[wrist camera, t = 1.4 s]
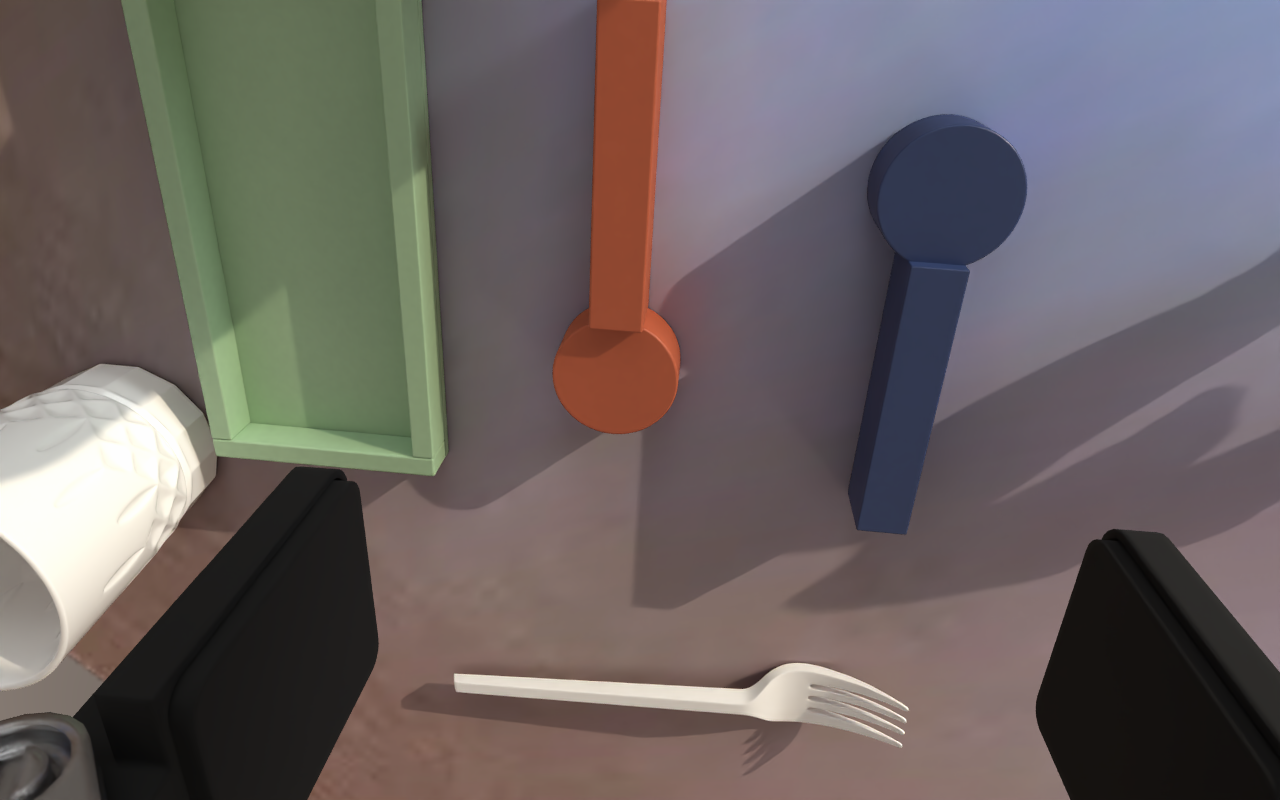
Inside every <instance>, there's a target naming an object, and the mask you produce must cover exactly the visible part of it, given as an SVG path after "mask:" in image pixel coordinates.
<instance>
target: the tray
mask: <svg viewBox="0 0 1280 800" xmlns="http://www.w3.org/2000/svg"><path fill="white" fill-rule="evenodd" d="M121 3H122V8H123V12H124V17H125V22H126V27H127V32H128V36H129V41H130V46H131V51H132V56H133V60H134V65H135V70H136V75H137V80H138V84H139V89H140V94H141V99H142V104H143V109H144V113H145V118H146V123H147V128H148V133H149V137H150V142H151V147H152V152H153V157H154V161H155V166H156V171H157V176H158V181H159V185H160V190H161V195H162V200H163V205H164V209H165V214H166V219H167V224H168V229H169V233H170V238H171V243H172V248H173V253H174V257H175V262H176V267H177V272H178V277H179V281H180V286H181V291H182V296H183V301H184V306H185V310H186V315H187V320H188V325H189V330H190V334H191V339H192V344H193V349H194V354H195V358H196V363H197V368H198V373H199V378H200V382H201V387H202V392H203V397H204V402H205V406H206V411H207V416H208V421H209V426H210V430H211V435H212V438H213V444H214V448H215V453H216V456H221V457H232V458H243V459H253V460H264V461H275V462H286V463H296V464H307V465H318V466H328V467H339V468H350V469H361V470H371V471H382V472H393V473H404V474H414V475H425V476H434V475H435V474H436V472H437V470H438V469H439V467H440V465H441V463H442V462H443V460H444V458H445V456H447V454H448V452H449V449H448V432H447V416H446V399H445V383H444V366H443V349H442V333H441V316H440V300H439V283H438V267H437V250H436V234H435V217H434V201H433V184H432V168H431V151H430V135H429V118H428V102H427V85H426V69H425V52H424V35H423V19H422V2H421V0H121Z"/></svg>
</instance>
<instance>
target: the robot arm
mask: <svg viewBox="0 0 1280 800" xmlns="http://www.w3.org/2000/svg"><path fill="white" fill-rule="evenodd" d="M378 644H379V643H378V632H377V624H376V616H375V608H374V600H373V592H372V584H371V576H370V568H369V560H368V552H367V544H366V537H365V529H364V521H363V513H362V505H361V497H360V491H359V487H358V485H357V483H355V482H352V481H347V478H346V476H345V474H344V472H343V471H341V470H339V469H326V468H313V467H295V468H294V469H293V470H292V471H290V473H289V474H288V475H287V476H286V477H285V478H284V479H283V481H282V482H281V483H280V484H279V485H278V486H277V487H276V488H275V490H274V491H273V492H272V493H271V494H270V495H269V496H268V497H267V499H266V500H265V501H264V502H263V503H262V504H261V505H260V507H259V508H258V509H257V510H256V511H255V512H254V513H253V514H252V516H251V517H250V518H249V519H248V520H247V521H246V522H245V524H244V525H243V526H242V527H241V528H240V529H239V530H238V531H237V533H236V534H235V535H234V536H233V537H232V538H231V539H230V541H229V542H228V543H227V544H226V545H225V546H224V547H223V548H222V550H221V551H220V552H219V553H218V554H217V555H216V556H215V558H214V559H213V560H212V561H211V562H210V563H209V564H208V565H207V567H206V568H205V569H204V570H203V571H202V572H201V573H200V574H199V575H198V576H197V577H196V578H195V580H194V581H193V582H192V583H191V584H190V585H189V586H188V587H187V589H186V590H185V591H184V592H183V593H182V594H181V595H180V597H179V598H178V599H177V600H176V601H175V602H174V603H173V604H172V606H171V607H170V608H169V609H168V610H167V611H166V612H165V613H164V615H163V616H162V617H161V618H160V619H159V620H158V621H157V623H156V624H155V625H154V626H153V627H152V628H151V629H150V630H149V632H148V633H147V634H146V635H145V636H144V637H143V638H142V639H141V641H140V642H139V643H138V644H137V645H136V646H135V647H134V649H133V650H132V651H131V652H130V653H129V654H128V655H127V656H126V658H125V659H124V660H123V661H122V662H121V663H120V664H119V666H118V667H117V668H116V669H115V670H114V671H113V672H112V673H111V675H110V676H109V677H108V678H107V679H106V680H105V681H104V682H103V684H102V685H101V686H100V687H99V688H98V689H97V690H96V692H95V693H94V694H93V695H92V696H91V697H90V698H89V699H88V701H87V702H86V703H85V704H84V705H83V706H82V707H81V709H80V710H79V711H78V712H77V713H76V714H75V715H74V716H73V717H71V716H68V715H62V714H57V713H51V712H47V713H34V714H24V715H20V716H17V717H13V718H9V719H6V720H2V721H0V800H307V799H308V797H309V795H310V793H311V791H312V789H313V787H314V785H315V783H316V781H317V779H318V777H319V775H320V773H321V771H322V769H323V767H324V765H325V763H326V761H327V759H328V757H329V755H330V753H331V751H332V749H333V747H334V745H335V743H336V741H337V739H338V737H339V735H340V733H341V731H342V729H343V727H344V726H345V724H346V722H347V720H348V718H349V716H350V714H351V712H352V710H353V708H354V706H355V704H356V702H357V700H358V698H359V696H360V694H361V692H362V690H363V688H364V686H365V684H366V682H367V680H368V678H369V676H370V674H371V672H372V670H373V668H374V665H375V662H376V658H377V653H378ZM1036 718H1037V723H1038V726H1039V729H1040V732H1041V734H1042V736H1043V738H1044V741H1045V743H1046V745H1047V747H1048V750H1049V752H1050V754H1051V757H1052V759H1053V761H1054V763H1055V766H1056V768H1057V770H1058V772H1059V775H1060V777H1061V779H1062V782H1063V784H1064V786H1065V788H1066V791H1067V793H1068V795H1069V797H1070V800H1280V672H1279V671H1278V670H1277V669H1276V667H1275V666H1274V665H1273V664H1272V662H1271V661H1270V660H1269V659H1268V658H1267V656H1266V655H1265V654H1264V653H1263V652H1262V650H1261V649H1260V648H1259V647H1258V646H1257V644H1256V643H1255V642H1254V641H1253V640H1252V638H1251V637H1250V636H1249V635H1248V634H1247V632H1246V631H1245V630H1244V629H1243V628H1242V626H1241V625H1240V624H1239V623H1238V622H1237V620H1236V619H1235V618H1234V617H1233V615H1232V614H1231V613H1230V612H1229V611H1228V609H1227V608H1226V607H1225V606H1224V605H1223V603H1222V602H1221V601H1220V600H1219V599H1218V597H1217V596H1216V595H1215V594H1214V593H1213V591H1212V590H1211V589H1210V588H1209V587H1208V585H1207V584H1206V583H1205V582H1204V581H1203V579H1202V578H1201V577H1200V576H1199V575H1198V573H1197V572H1196V571H1195V570H1194V568H1193V567H1192V566H1191V565H1190V564H1189V562H1188V561H1187V560H1186V559H1185V558H1184V556H1183V555H1182V554H1181V553H1180V552H1179V550H1178V549H1177V548H1176V547H1175V546H1174V544H1173V543H1172V542H1171V541H1170V540H1169V538H1167V537H1166V536H1165V535H1164V534H1161V533H1157V532H1145V531H1132V530H1119V529H1112V530H1109V531H1107V533H1106V534H1105V535H1104V536H1103V538H1102V540H1098V539H1096V540H1093V541H1092V542H1091V543H1090V544H1089V545H1088V547H1087V550H1086V552H1085V555H1084V558H1083V561H1082V564H1081V567H1080V570H1079V573H1078V576H1077V579H1076V582H1075V585H1074V588H1073V591H1072V594H1071V597H1070V600H1069V603H1068V606H1067V609H1066V612H1065V615H1064V618H1063V621H1062V624H1061V627H1060V630H1059V633H1058V636H1057V639H1056V642H1055V645H1054V648H1053V651H1052V654H1051V657H1050V660H1049V663H1048V666H1047V669H1046V672H1045V675H1044V678H1043V681H1042V684H1041V687H1040V690H1039V693H1038V696H1037V701H1036Z"/></svg>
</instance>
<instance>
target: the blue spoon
mask: <svg viewBox="0 0 1280 800" xmlns="http://www.w3.org/2000/svg"><path fill="white" fill-rule="evenodd" d="M1026 196H1027V178H1026V172H1025V168H1024V165H1023V163H1022V160H1021V158H1020V156H1019V154H1018V153H1017V151H1016V150H1015V148H1014V147H1013V146H1012V145H1011V144H1010V143H1009V142H1008V141H1007V140H1006V139H1005V138H1004V137H1002V136H1001V135H999V134H998V133H996V132H995V131H993V130H991V129H989V128H988V127H986V126H984V125H983V124H981V123H979V122H977V121H975V120H973V119H970V118H967V117H964V116H959V115H935V116H930V117H927V118H923V119H921V120H918V121H916V122H913V123H912V124H910V125H908V126H906V127H905V128H903V129H902V130H900V131H899V132H898V133H896V134H895V135H894V136H893V137H892V138H891V139H890V140H889V141H888V142H887V143H886V144H885V146H884V147H883V148H882V150H881V151H880V153H879V154H878V156H877V158H876V160H875V161H874V164H873V166H872V169H871V171H870V175H869V180H868V188H867V198H868V204H869V209H870V212H871V215H872V217H873V219H874V221H875V223H876V225H877V226H878V228H879V230H880V231H881V233H882V235H883V236H884V238H885V239H886V241H887V242H888V244H889V245H890V246H891V248H892V249H893V250H894V251H895V256H894V261H893V266H892V271H891V276H890V281H889V286H888V291H887V296H886V301H885V306H884V311H883V317H882V322H881V327H880V332H879V337H878V342H877V347H876V352H875V357H874V362H873V367H872V372H871V378H870V383H869V388H868V393H867V398H866V403H865V408H864V413H863V418H862V423H861V428H860V433H859V439H858V444H857V449H856V454H855V459H854V464H853V469H852V474H851V479H850V484H849V489H848V495H849V499H850V503H851V507H852V512H853V516H854V520H855V524H856V528H857V530H862V531H872V532H883V533H894V534H904V535H906V534H907V530H908V526H909V522H910V517H911V513H912V509H913V505H914V501H915V497H916V493H917V488H918V484H919V480H920V476H921V472H922V468H923V464H924V459H925V455H926V451H927V447H928V443H929V439H930V434H931V430H932V426H933V422H934V418H935V414H936V410H937V405H938V401H939V397H940V393H941V389H942V385H943V381H944V376H945V372H946V368H947V364H948V360H949V356H950V352H951V347H952V343H953V339H954V335H955V331H956V327H957V323H958V318H959V314H960V310H961V306H962V302H963V298H964V294H965V289H966V285H967V281H968V277H969V273H970V271H969V269H968V268H967V267H966V266H965V265H968V264H970V263H973V262H975V261H977V260H979V259H982V258H983V257H985V256H986V255H988V254H990V253H991V252H992V251H994V250H995V249H996V248H997V247H999V246H1000V245H1001V244H1002V243H1003V242H1004V241H1005V240H1006V238H1007V237H1008V236H1009V235H1010V234H1011V232H1012V231H1013V229H1014V228H1015V226H1016V224H1017V223H1018V221H1019V219H1020V216H1021V214H1022V211H1023V208H1024V205H1025V201H1026Z"/></svg>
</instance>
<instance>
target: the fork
mask: <svg viewBox="0 0 1280 800" xmlns="http://www.w3.org/2000/svg"><path fill="white" fill-rule="evenodd" d="M454 686H455V690H456V692H462V693H474V694H486V695H499V696H511V697H524V698H537V699H549V700H562V701H574V702H587V703H600V704H612V705H625V706H637V707H650V708H663V709H675V710H688V711H701V712H713V713H726V714H739V715H748V716H753V717H757V718H760V719H763V720H767V721H793V722H805V723H812V724H818V725H824V726H830V727H834V728H839V729H843V730H847V731H851V732H854V733H858V734H861V735H864V736H867V737H871V738H874V739H877V740H880V741H883V742H886V743H888V744H891V745H894V746H896V747H899V748H902V744H901V743H900V742H898V741H896V740H894V739H893V738H891V737H889V736H887V735H885V734H883V733H881V732H879V731H877V730H875V729H873V728H871V727H869V726H867V725H865V724H862V723H860V722H857V721H855V720H852V719H850V718H847V717H844V716H842V715H839V714H836V713H840V714H844V715H849V716H853V717H856V718H859V719H862V720H865V721H868V722H871V723H873V724H876V725H879V726H881V727H884V728H886V729H889V730H891V731H894V732H896V733H898V734H901V735H904V733H905V732H904V731H903V730H902V729H900V728H899V727H897V726H895V725H893V724H891V723H889V722H888V721H886V720H884V719H882V718H880V717H878V716H875V715H873V714H871V713H869V712H866V711H864V710H861V709H859V708H856V707H853V706H851V705H848V704H845V703H841V702H846V703H850V704H854V705H857V706H861V707H864V708H867V709H869V710H872V711H875V712H878V713H881V714H883V715H886V716H888V717H891V718H893V719H895V720H898V721H900V722H902V723H906V719H905V718H904V717H902V716H901V715H899V714H897V713H895V712H893V711H892V710H890V709H888V708H885V707H883V706H881V705H879V704H877V703H875V702H873V701H871V700H868V699H866V698H863V697H860V696H858V695H855V694H852V693H849V692H846V691H843V690H847V691H851V692H855V693H859V694H862V695H865V696H868V697H871V698H874V699H877V700H879V701H882V702H885V703H887V704H890V705H892V706H895V707H897V708H899V709H901V710H904V711H908V710H909V709H908V708H907V707H906V706H905V705H904V704H902V703H900V702H899V701H897V700H896V699H894V698H892V697H891V696H889V695H887V694H885V693H884V692H882V691H880V690H878V689H876V688H874V687H873V686H871V685H868V684H866V683H864V682H862V681H860V680H857V679H855V678H853V677H850V676H848V675H845V674H842V673H839V672H836V671H834V670H831V669H827V668H824V667H820V666H816V665H811V664H805V663H790V664H785V665H781V666H779V667H777V668H775V669H773V670H772V671H770V672H769V673H767V674H766V675H765V676H764V677H763V678H762V679H761V680H759V681H758V682H757V683H756V684H754V685H753V686H751V687H749V688H746V689H729V688H710V687H692V686H673V685H655V684H636V683H618V682H600V681H581V680H563V679H545V678H526V677H508V676H490V675H471V674H454ZM828 686H829V687H828ZM832 687H834V688H832ZM836 688H839V689H843V690H839V689H836ZM827 698H828V699H827ZM831 699H832V700H831ZM835 700H837V701H835ZM838 701H841V702H838ZM830 711H832V712H830ZM833 712H836V713H833Z"/></svg>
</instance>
